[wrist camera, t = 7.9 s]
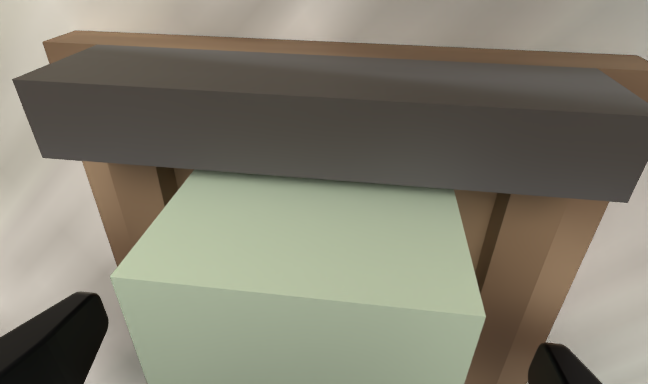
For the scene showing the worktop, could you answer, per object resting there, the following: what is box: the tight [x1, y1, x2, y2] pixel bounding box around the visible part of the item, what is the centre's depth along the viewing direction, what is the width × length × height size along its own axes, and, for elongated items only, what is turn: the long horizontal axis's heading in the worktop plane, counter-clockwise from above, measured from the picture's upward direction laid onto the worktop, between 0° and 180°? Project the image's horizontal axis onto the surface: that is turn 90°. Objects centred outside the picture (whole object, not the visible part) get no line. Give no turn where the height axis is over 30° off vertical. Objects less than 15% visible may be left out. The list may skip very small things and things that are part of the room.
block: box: [110, 169, 486, 384], centre depth 9 cm, size 6×5×5 cm
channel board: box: [12, 31, 648, 384], centre depth 12 cm, size 14×13×4 cm
